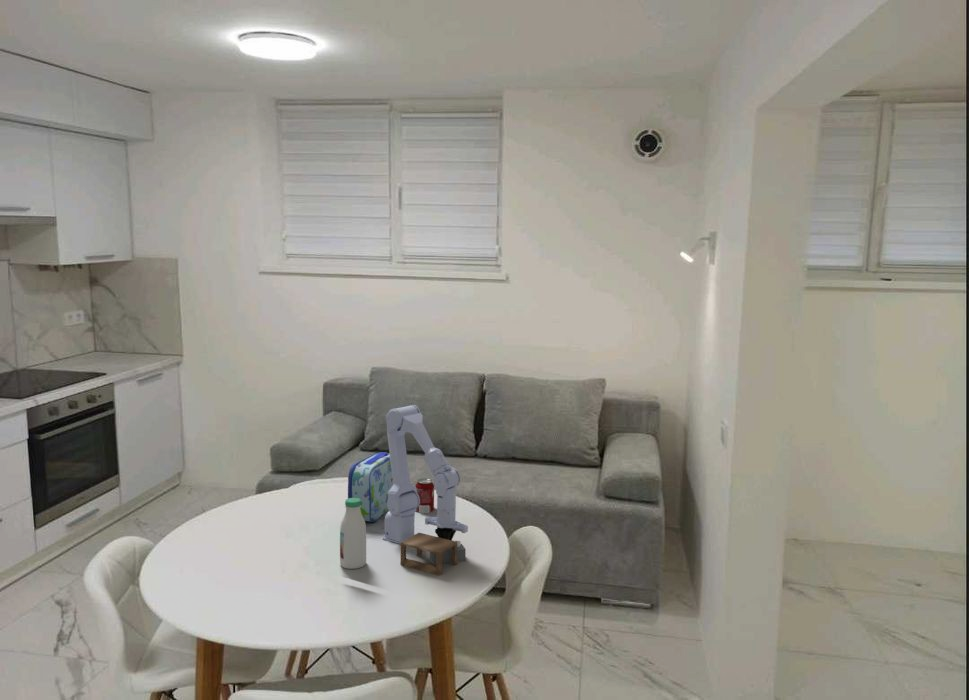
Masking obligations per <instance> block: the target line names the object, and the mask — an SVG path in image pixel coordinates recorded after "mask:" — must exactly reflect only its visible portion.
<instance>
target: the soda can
mask: <svg viewBox="0 0 969 700" xmlns="http://www.w3.org/2000/svg"><path fill="white" fill-rule="evenodd" d="M414 486H416V490H417V493H418V495H419V498H420V504H419V506H418V507H417V508H416V512H415V513H419V514H427V513H429V514H430V513H432V512H434V510H435V486H434V483H433V479H431V478H419V479H417V481H416V483H415V485H414Z"/></svg>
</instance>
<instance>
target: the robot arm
mask: <svg viewBox="0 0 969 700" xmlns="http://www.w3.org/2000/svg"><path fill="white" fill-rule="evenodd" d="M385 419H386V420H385V421H386V427H387V428H386V434H387V436H386V437H387V444H388V451H389V452H388V454H390V461H391V469H392V477H393V486H392V487H391V489H390V490H389V491H388V500H387V507H388V511H387V512H386V513H385V518H384V521H383V522H384V523H383V524H384V528H383V530H384V532H383V533H384V536H383V537H382V540H384V541H388V542H393V543H395V544H396V543H397V544H400V545H401V542H402V541H404V540H406V539H408V538H410V537H412V536H413V535H415V513H417V512H416V508H417V507H418V506H419V504H420V498H419V495H418V493H417V490H416V486H415V485H414V484H413V483H412V482H411V479H410V470H409V463H408V462H409V461H408V454H407V447H406V437H405V435H406V433H410V434H411V435H412V437H414V439H415V441H416V442H417V444H418V445H419V446H420V447H421V449H422V451H423V452H424V458H423V459H424V461H425V463H426V465H427V466H428V468H429V470H430V472H431V474H432V475H433V477H434V479H432V482H433V484H434V489H435V493H436V496H437V497H436V498H437V499H436V500H437V501H436V512H437V513H436V516H435V517H432V516H426V517H425V518H424V524H425V525H432V526H435V527H436V529H434V532H435V534H436V535H437V536H436V537H439V538H443V539H448V540H452V541H453V538H454V536H455V534H456V532H461V533H462V534H466V533H468V532H469V528H468V527H469V526H468V525H467V524H463V523H461V522H459V520H456V509H457V505H456V504H457V502H456V501H457V486H459V485H460V483H461V475H460V473H459V471H458V470H457V469H456V468H455V467H453V466H452V465H450V464H449V462H448V461H447V459H446V457H445V455H444V453H443V451H441V449H439V448H437V447H435V445H434V444H433V441H432V440H431V438H430V435H429V433H428V431H427V429H426V427H425V425H424V422H423V420H424V415H423V414H422V412H421V410H420V408H419V407H418V406H417V405H415V404H411V405H407V406H402V407H398V408H397V407H396V408H391V409H389V411H388V412H387V414H386V415H385Z"/></svg>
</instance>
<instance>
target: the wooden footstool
mask: <svg viewBox="0 0 969 700" xmlns="http://www.w3.org/2000/svg"><path fill="white" fill-rule="evenodd" d="M456 541H457V540H453V539H452V540H448V539H443V538H439V537H438V536H435V535H430V534H425V533H423V532H417V533H414V535H413V536H412V537H410V538H408V539H406V540H404V541H402V542H401V544H400V566H403V567H404V566H405V567H408V568H412V569H416V570H420V571H422V572H426V573H430V574H433V575H434V574H435V575H437V576H438V577H439V576H441V575H443V563H442V553H443V552H445V551H446V550H448V549H450V548H451V547H452V562H451V566H456V565H458V562H457V542H456ZM407 547H410V548H414V549H416V556H417V557H421V556H422V555H423V551H425V552H428V553H430V552H432V553H436V554H437V557H436V564H435V565H434V564H429V563H426V562H421V561H418V560H414V559H411V558H407Z"/></svg>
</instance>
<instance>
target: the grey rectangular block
mask: <svg viewBox="0 0 969 700" xmlns="http://www.w3.org/2000/svg"><path fill="white" fill-rule="evenodd" d="M455 541H456V542H457V563H459V562H465V561H466V547H465V546H464V545H463V543H461V542H462V541H460V540H455ZM436 557H437V554H436V553H432V552H429V559H430V562H432V565H436ZM449 563H450V564H452V547H451V548H450V549H448V550H446V551H445V552H443V553H442V564H449Z"/></svg>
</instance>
